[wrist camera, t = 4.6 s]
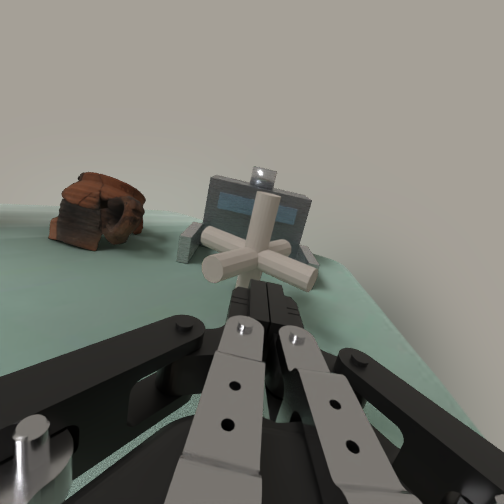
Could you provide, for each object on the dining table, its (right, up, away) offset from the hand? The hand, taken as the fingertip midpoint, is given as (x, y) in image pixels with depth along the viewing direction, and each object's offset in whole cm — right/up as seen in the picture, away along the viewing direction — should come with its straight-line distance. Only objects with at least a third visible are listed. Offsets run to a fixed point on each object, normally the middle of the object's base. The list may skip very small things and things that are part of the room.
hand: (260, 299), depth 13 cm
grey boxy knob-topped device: (-1, +2, +24) cm, 24 cm away
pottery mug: (-17, +3, +19) cm, 26 cm away
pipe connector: (-1, -3, +10) cm, 11 cm away
